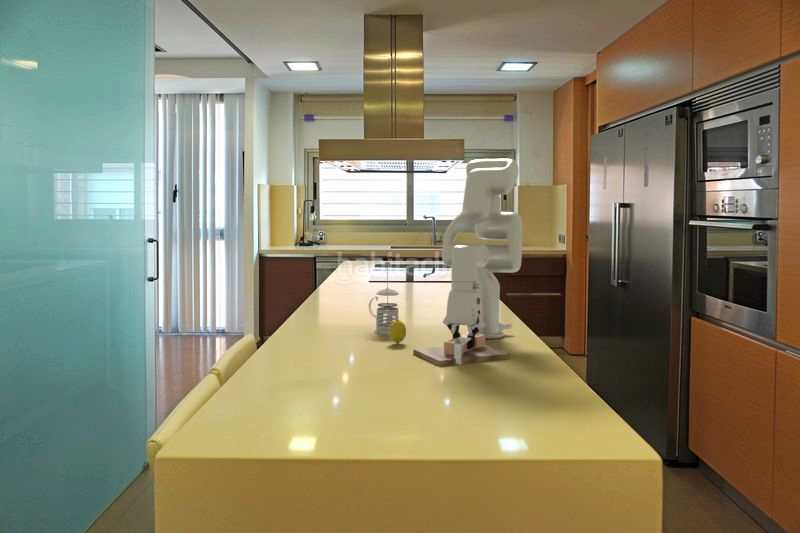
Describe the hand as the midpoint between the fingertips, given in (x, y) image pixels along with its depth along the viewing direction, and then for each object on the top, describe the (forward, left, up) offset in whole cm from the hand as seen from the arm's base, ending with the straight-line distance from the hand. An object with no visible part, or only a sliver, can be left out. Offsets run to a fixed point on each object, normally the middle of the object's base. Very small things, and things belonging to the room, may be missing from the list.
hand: (463, 347), depth 205 cm
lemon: (+11, -24, -3) cm, 26 cm away
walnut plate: (+1, +1, -3) cm, 3 cm away
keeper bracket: (+4, +7, -3) cm, 8 cm away
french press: (+6, -46, -3) cm, 46 cm away
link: (0, 0, -1) cm, 1 cm away
